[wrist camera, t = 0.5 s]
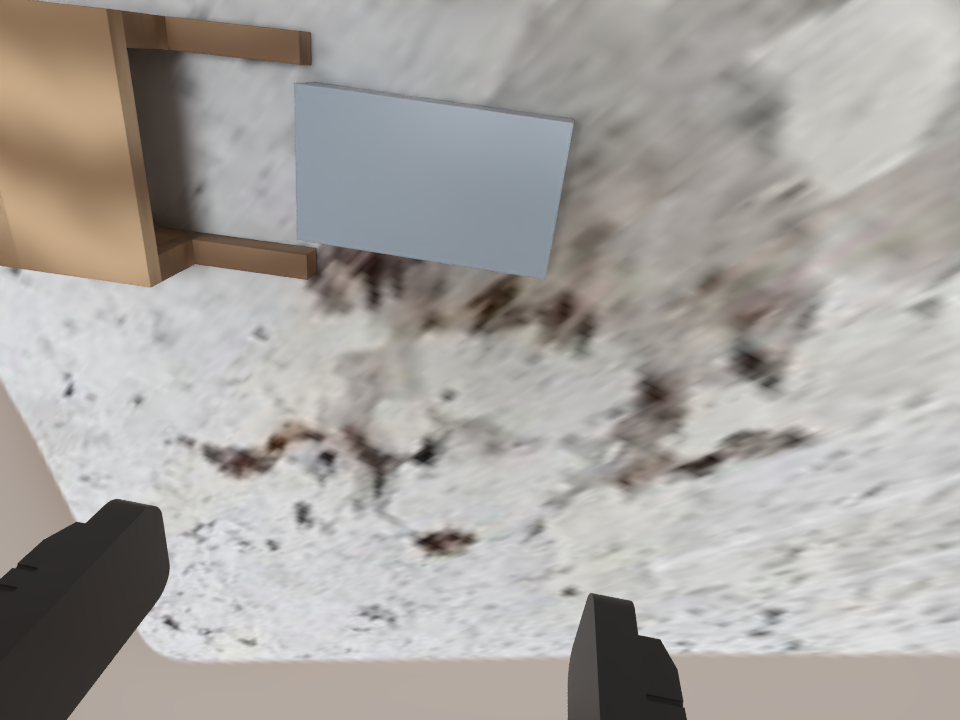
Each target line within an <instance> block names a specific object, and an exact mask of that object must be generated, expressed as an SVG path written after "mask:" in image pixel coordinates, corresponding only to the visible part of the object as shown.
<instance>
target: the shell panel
mask: <svg viewBox="0 0 960 720" xmlns="http://www.w3.org/2000/svg"><path fill="white" fill-rule="evenodd" d="M294 91H295V146H296V202H297V240H302V241H308V242H314V243H320V244H327V245H333V246H339V247H345V248H352V249H358V250H364V251H370V252H377V253H383V254H389V255H395V256H402V257H408V258H414V259H420V260H427V261H433V262H439V263H446V264H452V265H458V266H464V267H471V268H477V269H483V270H489V271H496V272H502V273H508V274H514V275H521V276H527V277H533V278H539V279H546V273H547V268H548V262H549V257H550V251H551V246H552V240H553V235H554V229H555V224H556V218H557V213H558V207H559V202H560V196H561V191H562V185H563V180H564V174H565V169H566V163H567V158H568V152H569V147H570V141H571V136H572V130H573V125H574V122H573V119H568V118H561V117H554V116H547V115H540V114H533V113H526V112H519V111H513V110H506V109H499V108H492V107H485V106H478V105H471V104H464V103H457V102H450V101H443V100H436V99H429V98H422V97H415V96H408V95H401V94H394V93H387V92H380V91H373V90H366V89H359V88H352V87H345V86H338V85H331V84H324V83H317V82H305V83H294Z"/></svg>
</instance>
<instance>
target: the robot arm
mask: <svg viewBox="0 0 960 720" xmlns="http://www.w3.org/2000/svg"><path fill="white" fill-rule="evenodd" d="M169 569H170V565H169V557H168V551H167V544H166V537H165V531H164V524H163V517H162V512H161V510H160V509H159V508H158V507H156V506H152V505H146V504H141V503H136V502H131V501H126V500H121V499H114V500H111V501H110V502H108V503H107V504H106V505H104V506H103V507H102V508H101V509H100V510H99V511H98V512H97V513H96V514H95V515H94V516H93V517H92V518H91V519H90V520H89V521H87V522H86V523H80V522H75V523H74V524H72V525H70V526H68V527H66V528H65V529H63V530H61V531H59V532H57V533H55V534H53V535H52V536H50V537H48V538H46V539H44V540H43V541H42V542H41V543H40V544H38V545H37V546H36V547H35V548H34V549H33V550H32V551H31V552H30V553H29V554H27V555H26V556H25V557H24V558H23V559H22V560H21V561H20V562H19V563H18V565H17V567H16V568H15V569H14V568H12V569H11V570H10V571H9V572H8V573H7V574H5V575H4V576H3V577H2V578H1V579H0V720H67V718H68V717H69V716H70V715H71V713H72V712H73V711H74V709H75V708H76V707H77V705H78V704H79V703H80V701H81V700H82V699H83V698H84V696H85V695H86V694H87V692H88V691H89V689H90V688H91V687H92V686H93V684H94V683H95V682H96V681H97V679H98V678H99V677H100V675H101V674H102V673H103V671H104V670H105V669H106V667H107V666H108V665H109V664H110V662H111V661H112V660H113V658H114V657H115V655H116V654H117V653H118V652H119V650H120V649H121V648H122V646H123V645H124V644H125V643H126V641H127V640H128V639H129V637H130V636H131V635H132V633H133V632H134V631H135V630H136V628H137V627H138V626H139V624H140V623H141V622H142V620H143V619H144V618H145V616H146V615H147V614H148V613H149V611H150V610H151V609H152V607H153V606H154V605H155V603H156V602H157V601H158V599H159V598H160V596H161V594H162V592H163V590H164V588H165V586H166V583H167V580H168V576H169ZM568 720H687V718H686V713H685V708H683V697H682V692H681V686H680V682H679V675H678V670H677V668H676V666H675V665H674V663H673V661H672V659H671V657H670V656H669V654H668V652H667V650H666V649H665V647H664V645H663V644H662V642H661V640H660V639H655V638H650V637H645V636H640V635H638V630H637V622H636V614H635V608H634V604H633V602H632V601H629V600H624V599H619V598H614V597H609V596H604V595H598V594H593V593H590V594H589V596H588V598H587V601H586V604H585V608H584V611H583V614H582V617H581V621H580V624H579V627H578V631H577V634H576V637H575V641H574V644H573V648H572V652H571V657H570V663H569V673H568Z"/></svg>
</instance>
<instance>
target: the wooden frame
mask: <svg viewBox="0 0 960 720" xmlns="http://www.w3.org/2000/svg"><path fill="white" fill-rule="evenodd" d="M127 48H142V49H163V50H175V51H184V52H193V53H202V54H210V55H219V56H228V57H237V58H245V59H254V60H263V61H272V62H281V63H289V64H298V65H311V38H310V33H309V32H302V31H294V30H284V29H275V28H266V27H257V26H248V25H239V24H230V23H221V22H212V21H202V20H193V19H184V18H175V17H166V16H158V15H150V14H143V13H135V12H127V11H120V10H112V9H104V8H95V7H86V6H77V5H68V4H59V3H49V2H40V1H31V0H0V266H6V267H13V268H20V269H26V270H33V271H40V272H47V273H54V274H61V275H68V276H75V277H82V278H89V279H96V280H103V281H110V282H117V283H123V284H130V285H137V286H144V287H152V286H154V285H156V284H158V283H160V282H162V281H164V280H166V279H168V278H170V277H171V276H173V275H175V274H177V273H179V272H181V271H183V270H185V269H187V268H189V267H190V266H192V265H194V264H199V265H206V266H213V267H220V268H227V269H234V270H241V271H248V272H256V273H263V274H270V275H277V276H284V277H291V278H298V279H305V280H308V279H309V278H310V277H311V276H313V275H314V274H315V273H316V272H317V262H316V248H309V247H302V246H295V245H287V244H280V243H273V242H265V241H258V240H251V239H243V238H236V237H229V236H221V235H214V234H207V233H199V232H192V231H185V230H177V229H170V228H163V227H155V226H154V225H153V219H152V212H151V205H150V199H149V192H148V186H147V179H146V172H145V166H144V159H143V153H142V146H141V139H140V133H139V126H138V119H137V113H136V106H135V100H134V93H133V86H132V80H131V73H130V66H129V60H128V53H127Z"/></svg>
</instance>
